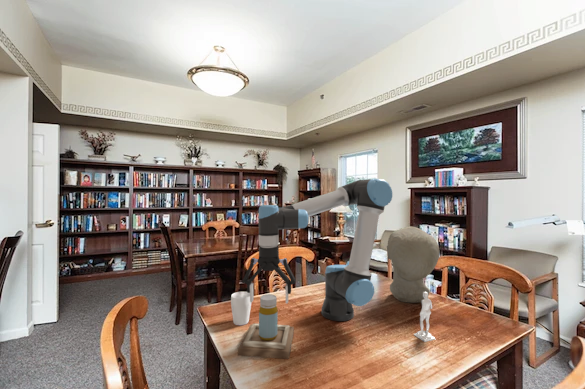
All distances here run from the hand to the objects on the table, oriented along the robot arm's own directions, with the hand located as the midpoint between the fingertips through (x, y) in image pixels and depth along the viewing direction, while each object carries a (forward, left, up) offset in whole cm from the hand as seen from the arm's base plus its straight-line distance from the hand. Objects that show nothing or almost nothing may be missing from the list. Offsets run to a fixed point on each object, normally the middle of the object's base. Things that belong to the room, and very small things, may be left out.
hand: (269, 301), depth 105 cm
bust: (-68, -47, -16) cm, 84 cm away
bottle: (0, 0, -13) cm, 13 cm away
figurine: (-62, -12, -16) cm, 65 cm away
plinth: (0, 0, -16) cm, 16 cm away
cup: (+15, -16, -16) cm, 27 cm away
